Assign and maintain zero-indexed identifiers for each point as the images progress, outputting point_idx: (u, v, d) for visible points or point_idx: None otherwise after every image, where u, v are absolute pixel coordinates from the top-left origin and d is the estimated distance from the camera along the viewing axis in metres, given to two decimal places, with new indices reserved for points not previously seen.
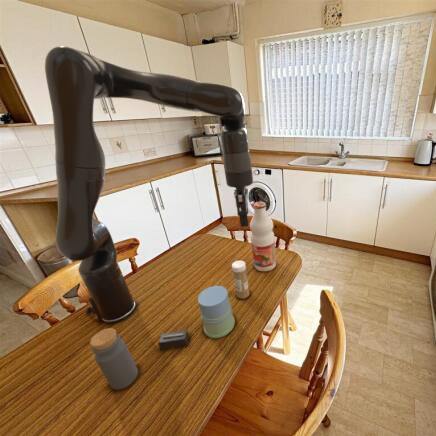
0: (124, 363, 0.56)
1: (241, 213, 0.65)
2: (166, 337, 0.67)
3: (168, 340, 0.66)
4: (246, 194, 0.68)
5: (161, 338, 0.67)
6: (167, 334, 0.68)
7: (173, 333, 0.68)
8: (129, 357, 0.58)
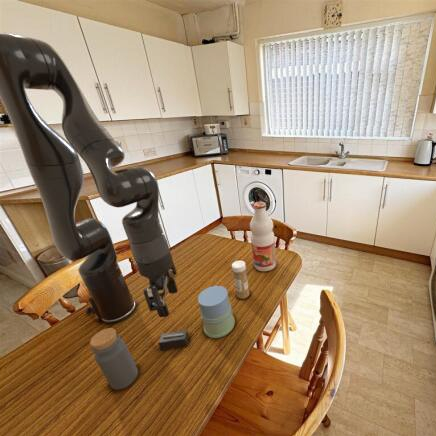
0: (124, 363, 0.56)
1: (154, 308, 0.55)
2: (166, 337, 0.67)
3: (168, 340, 0.66)
4: (164, 281, 0.58)
5: (161, 338, 0.67)
6: (167, 334, 0.68)
7: (173, 333, 0.68)
8: (129, 357, 0.58)
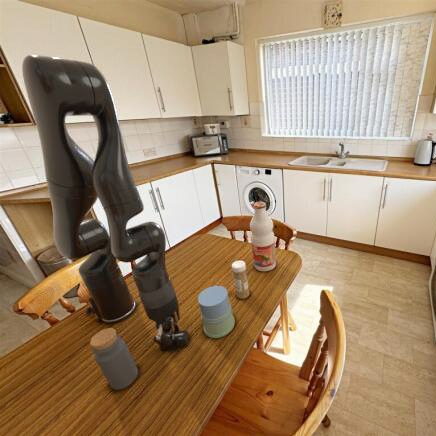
0: (124, 363, 0.56)
1: (164, 344, 0.62)
2: None
3: None
4: (170, 323, 0.63)
5: None
6: None
7: None
8: (129, 357, 0.58)
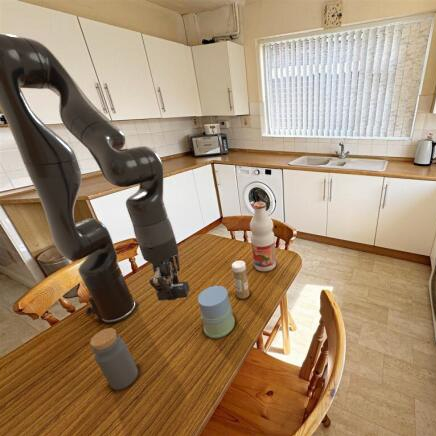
0: (124, 363, 0.56)
1: (162, 291, 0.56)
2: None
3: None
4: (168, 268, 0.57)
5: None
6: None
7: None
8: (129, 357, 0.58)
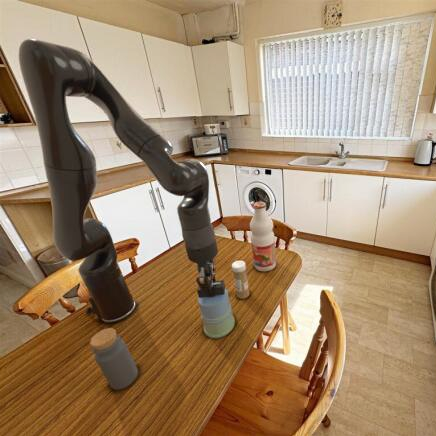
0: (124, 363, 0.56)
1: (205, 289, 0.62)
2: None
3: None
4: (210, 268, 0.62)
5: None
6: None
7: None
8: (129, 357, 0.58)
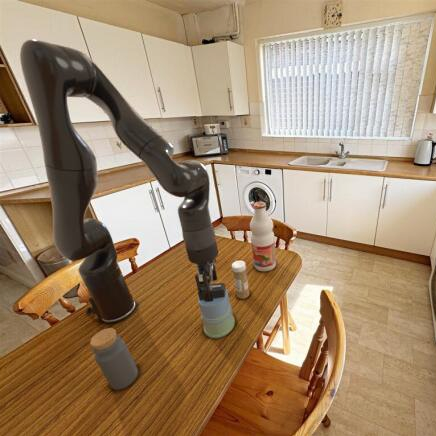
0: (124, 363, 0.56)
1: (203, 292, 0.59)
2: None
3: None
4: (210, 268, 0.62)
5: None
6: None
7: (211, 285, 0.68)
8: (129, 357, 0.58)
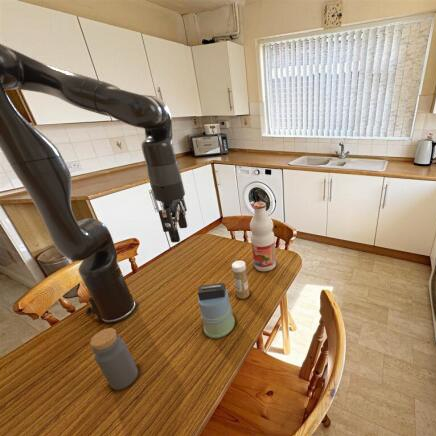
0: (124, 363, 0.56)
1: (167, 229, 0.61)
2: (205, 288, 0.67)
3: (207, 291, 0.66)
4: (176, 208, 0.64)
5: (200, 289, 0.67)
6: (205, 286, 0.68)
7: (211, 285, 0.68)
8: (129, 357, 0.58)
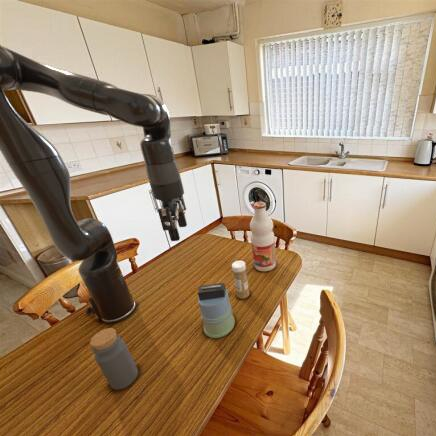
0: (124, 363, 0.56)
1: (167, 228, 0.61)
2: (205, 288, 0.67)
3: (207, 291, 0.66)
4: (175, 207, 0.64)
5: (200, 289, 0.67)
6: (205, 286, 0.68)
7: (211, 285, 0.68)
8: (129, 357, 0.58)
